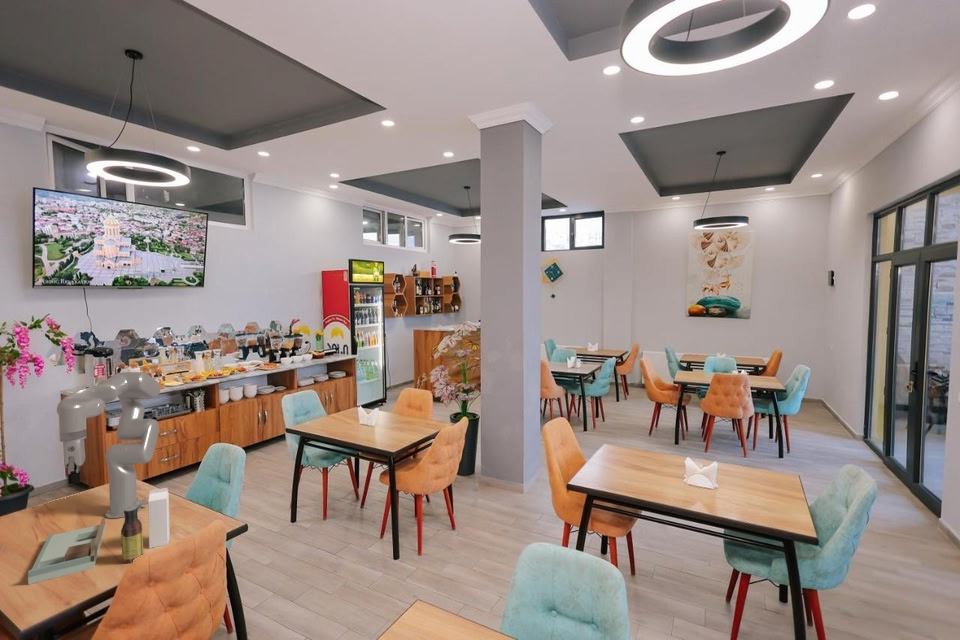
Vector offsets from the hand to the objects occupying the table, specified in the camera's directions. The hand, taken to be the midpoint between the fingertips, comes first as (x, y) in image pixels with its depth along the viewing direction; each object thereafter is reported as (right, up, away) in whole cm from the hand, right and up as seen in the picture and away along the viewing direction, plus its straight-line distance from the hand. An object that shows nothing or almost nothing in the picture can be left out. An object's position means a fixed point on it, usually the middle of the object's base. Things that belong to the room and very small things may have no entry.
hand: (74, 482), depth 168 cm
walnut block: (+9, -25, -8) cm, 28 cm away
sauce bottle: (+25, -28, -3) cm, 37 cm away
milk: (+27, -27, +8) cm, 39 cm away
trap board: (-1, -27, 0) cm, 27 cm away
